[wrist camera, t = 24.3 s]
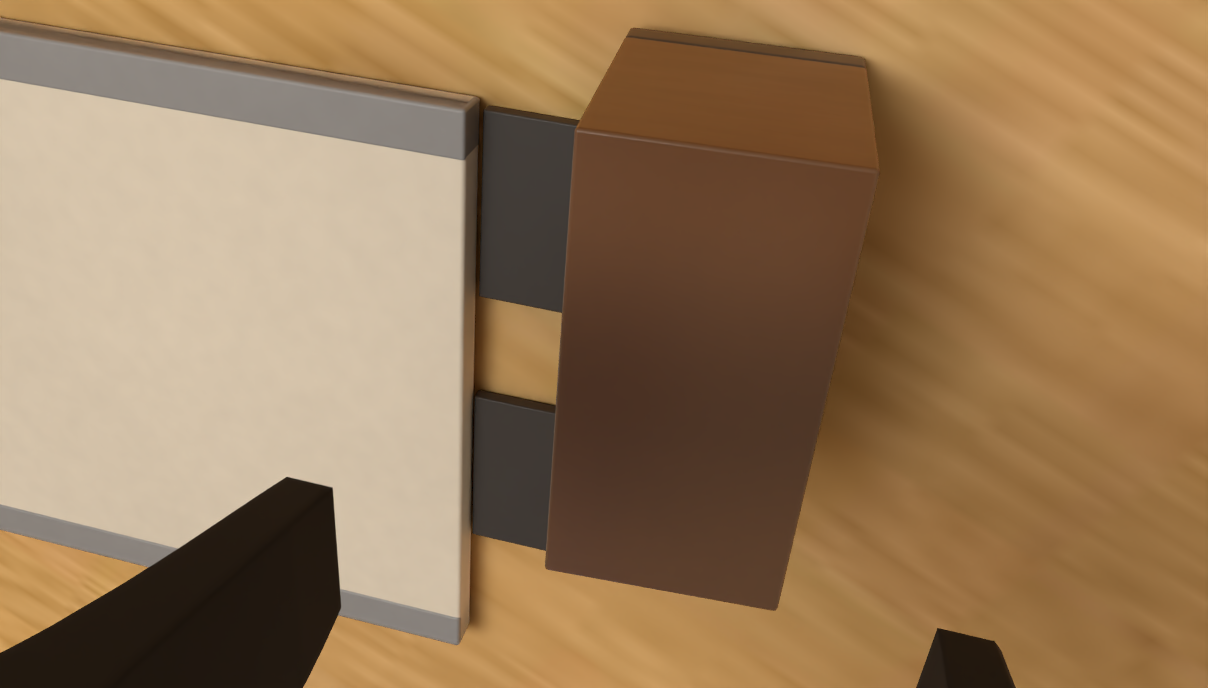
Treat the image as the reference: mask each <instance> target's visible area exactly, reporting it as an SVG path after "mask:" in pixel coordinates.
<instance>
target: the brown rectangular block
mask: <svg viewBox="0 0 1208 688" xmlns="http://www.w3.org/2000/svg"><path fill="white" fill-rule="evenodd" d="M879 175H880V170H879V162H878V155H877V147H876V139H875V131H874V124H873V116H872V108H871V100H870V93H869V85H868V77H867V70H866V63H865V59H864V58H863V57H858V56H850V55H842V54H834V53H827V52H819V51H811V50H803V49H795V48H788V47H780V46H772V45H764V44H756V43H749V42H741V41H733V40H725V39H717V38H710V37H702V36H694V35H686V34H679V33H671V32H663V31H655V30H647V29H640V28H631V29H630V31H629V33H628V34H627V36H626V38H625V39H624V41H623V43H622V45H621V47H620V49H619V50H618V52H617V54H616V56H615V58H614V59H613V61H612V63H611V65H610V67H609V69H608V70H607V72H606V74H605V76H604V78H603V79H602V81H601V83H600V85H599V87H598V89H597V90H596V92H595V94H594V96H593V98H592V99H591V101H590V103H589V105H588V107H587V109H586V110H585V112H584V114H583V116H582V118H581V120H580V121H579V123H578V125H577V127H576V129H575V131H574V145H573V160H572V175H571V190H570V204H569V219H568V234H567V249H566V264H565V278H564V293H563V308H562V323H561V337H560V352H559V367H558V382H557V397H556V411H555V426H554V441H553V456H552V470H551V485H550V500H549V515H548V530H547V544H546V559H545V567H546V569H548V570H553V571H558V572H564V573H569V574H575V575H580V576H586V577H591V578H597V579H602V580H608V581H613V582H619V583H624V584H630V585H635V586H641V587H646V588H652V589H657V590H663V591H668V592H674V593H679V594H685V595H690V596H696V597H701V598H707V599H712V600H718V601H723V602H729V603H734V604H740V605H745V606H751V607H756V608H762V609H767V610H773V611H774V610H776V609H777V608H778V604H779V600H780V596H781V591H782V587H783V583H784V579H785V574H786V570H787V566H788V562H789V557H790V553H791V549H792V545H793V540H794V536H795V532H796V528H797V523H798V519H799V515H800V511H801V506H802V502H803V498H804V494H805V489H806V485H807V481H808V477H809V472H810V468H811V464H812V460H813V455H814V451H815V447H816V442H817V438H818V434H819V430H820V425H821V421H822V417H823V413H824V408H825V404H826V400H827V396H828V391H829V387H830V383H831V379H832V374H833V370H834V366H835V362H836V357H837V353H838V349H839V345H840V340H841V336H842V332H843V328H844V323H845V319H846V315H847V311H848V306H849V302H850V298H851V294H852V289H853V285H854V281H855V277H856V272H857V268H858V264H859V260H860V255H861V251H862V247H863V243H864V238H865V234H866V230H867V226H868V221H869V217H870V213H871V209H872V204H873V200H874V196H875V192H876V187H877V183H878V179H879Z"/></svg>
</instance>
